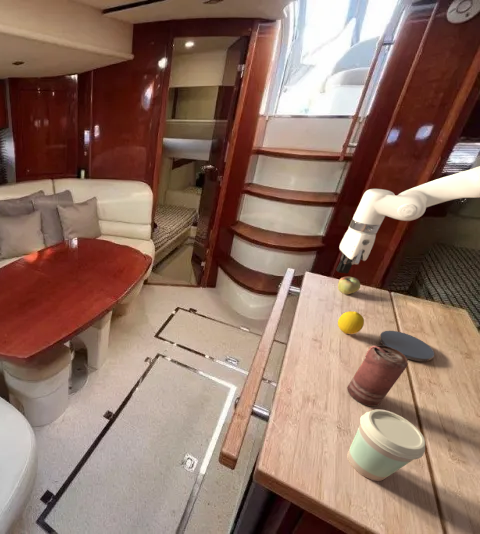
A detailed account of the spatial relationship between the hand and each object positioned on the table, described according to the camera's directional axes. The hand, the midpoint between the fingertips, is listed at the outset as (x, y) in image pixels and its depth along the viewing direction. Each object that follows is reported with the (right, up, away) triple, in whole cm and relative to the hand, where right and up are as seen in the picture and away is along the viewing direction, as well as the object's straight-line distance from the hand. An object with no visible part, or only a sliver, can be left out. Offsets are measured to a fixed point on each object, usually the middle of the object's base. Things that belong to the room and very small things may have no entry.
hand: (341, 271), depth 113 cm
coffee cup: (-42, -37, -53) cm, 77 cm away
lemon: (-18, -18, -22) cm, 33 cm away
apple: (-2, -7, -3) cm, 8 cm away
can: (-30, -29, -40) cm, 58 cm away
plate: (-6, -21, -27) cm, 35 cm away
